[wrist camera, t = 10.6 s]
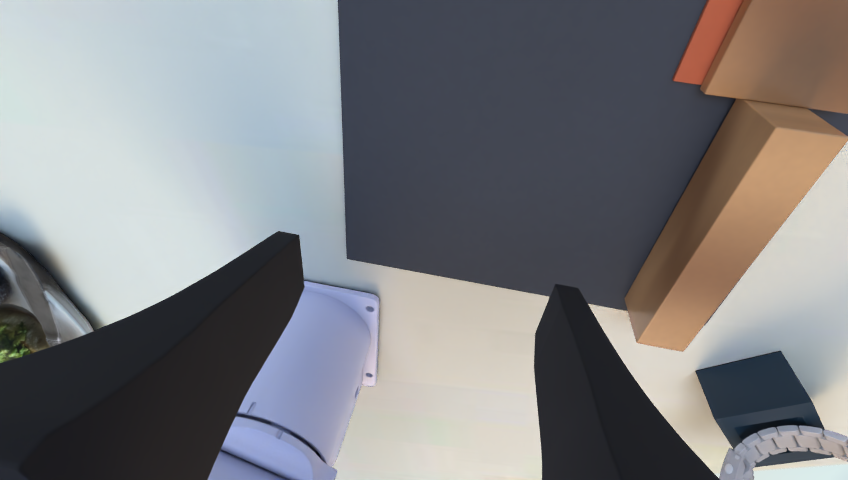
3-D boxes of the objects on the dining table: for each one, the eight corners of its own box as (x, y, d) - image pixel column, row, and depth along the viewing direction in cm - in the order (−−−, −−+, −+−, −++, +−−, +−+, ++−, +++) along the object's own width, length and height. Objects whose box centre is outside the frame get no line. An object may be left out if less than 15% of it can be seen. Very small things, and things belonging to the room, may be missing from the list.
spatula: (841, -199, 11) (929, -229, 9) (1054, -183, 10) (1207, -210, 8) (597, 293, 22) (606, 337, 20) (693, 311, 22) (714, 358, 20)
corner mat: (703, 321, 23) (706, 328, 22) (348, 255, 24) (345, 261, 24) (1059, -156, 11) (1078, -159, 11) (333, -219, 13) (327, -223, 12)
